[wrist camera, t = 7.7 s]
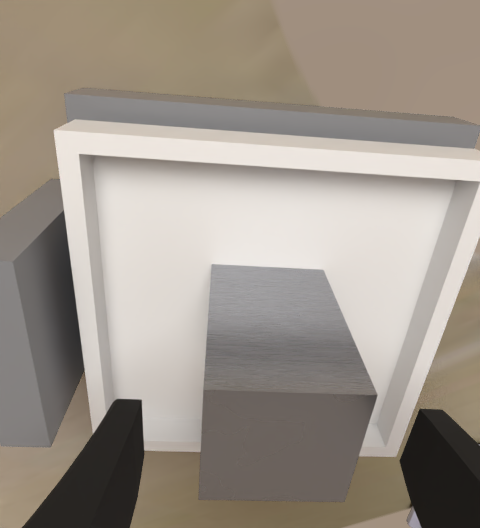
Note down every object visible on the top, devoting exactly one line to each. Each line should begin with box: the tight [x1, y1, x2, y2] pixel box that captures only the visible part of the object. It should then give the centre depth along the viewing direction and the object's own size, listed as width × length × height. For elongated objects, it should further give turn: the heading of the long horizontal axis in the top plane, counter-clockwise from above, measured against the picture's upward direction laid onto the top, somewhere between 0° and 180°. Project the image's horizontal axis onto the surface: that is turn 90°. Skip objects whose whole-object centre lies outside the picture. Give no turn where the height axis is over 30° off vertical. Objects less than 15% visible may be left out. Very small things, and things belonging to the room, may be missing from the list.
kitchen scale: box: [0, 88, 480, 457], centre depth 16 cm, size 16×14×7 cm
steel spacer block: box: [199, 264, 378, 502], centre depth 13 cm, size 4×4×6 cm
